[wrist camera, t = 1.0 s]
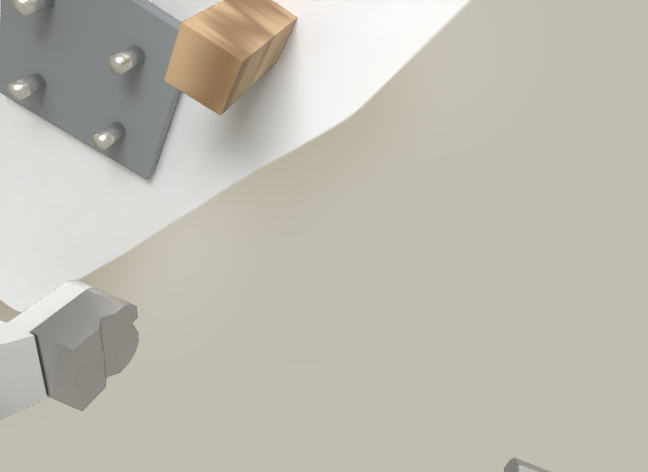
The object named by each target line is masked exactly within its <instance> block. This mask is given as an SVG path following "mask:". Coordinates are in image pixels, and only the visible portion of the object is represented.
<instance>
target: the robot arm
mask: <svg viewBox="0 0 648 472" xmlns="http://www.w3.org/2000/svg"><path fill="white" fill-rule="evenodd" d="M137 318H138V316H137V307H136V306H135V305H133V304H131V303H129V302H126V301H124V300H122V299H119V298H117V297H115V296H113V295H110V294H108V293H106V292H104V291H101V290H99V289H97V288H94V287H92V286H89V285H87V284H85V283H82V282H80V281H78V280H72V281H68V282H66V283H64V284H63V285H61V286H60V287H58V288H57V289H55V290H54V291H53V292H51V293H50V294H48V295H47V296H45V297H44V298H42V299H41V300H40V301H38V302H37V303H35V304H34V305H32V306H31V307H29V308H28V309H27V310H25V311H24V312H22V313H21V314H19V315H18V316H17V317H15V318H14V319H12V320H11V321H9V322H8V323H6V322H4V321H0V420H2V419H4V418H7V417H9V416H11V415H13V414H15V413H18V412H20V411H22V410H24V409H26V408H29V407H31V406H33V405H35V404H37V403H40V402H41V401H44V400H46V399H47V396H48V397H50V398H53V399H55V400H57V401H59V402H62V403H64V404H67V405H69V406H71V407H73V408H76V409H78V410H80V411H83V410H84V409H85V408H86V407H87V406H88V405H89V404H90V403H91V402H92V401H93V400H94V399H95V398H96V397H97V396H98V395H99V394H100V393H101V392H102V391H103V390H104V389H105V387H106V379H107V377H109V376H112V375H115V374H117V373H120V372H121V371H122V370H123V369H124V368H125V367H126V366H127V365H128V364H129V362H130V361H131V359H132V357H133V355H134V353H135V352H136V349H137V345H138V341H139V339H138V331H137V330H136V328H135V327H134V325H133V322H134V321H135V320H136V319H137ZM504 472H550V471H547V470H545V469H542V468H540V467H537V466H534V465H532V464H529V463H527V462H524V461H522V460H519V459H516V458H513V459H511V460H510V461H509V462H508V463H507V465H506V466H505V468H504Z"/></svg>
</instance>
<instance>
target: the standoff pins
mask: <svg viewBox="0 0 648 472" xmlns="http://www.w3.org/2000/svg"><path fill="white" fill-rule="evenodd" d="M9 3H10V6H11V8H12V9H13V11H14V12H15V13H16V14H18V15H20V16H24V15H27V14H30V13H33V12H37V11H40V10H43V9H46V8H49V7H52V6H54V4H55V0H9ZM144 60H145V53H144V51H143V50H142V48H140V47H139V46H137V45H133V46H131V47H129V48H127V49H125V50H123V51H121V52H119V53H117V54H115V55H113V56H111V57H109V58H108V59H107V66H108V68H109V70H110V71H111V72H112V73H113V74H116V75H121V74H122V73H124V72H126V71H128V70H129V69H131V68H133V67H135V66H136V65H138V64H140V63H142V62H143V61H144ZM45 87H46V81H45V79H44V78H43V76H41V75H40V74H38V73H33V74H31V75H29V76H27V77H25V78H22V79H20V80H18V81H16V82H14V83H11V84H9V85H7V86H6V92H7V94H8V95H9V96H10V97H11V98H12V99H13V100H16V101H19V100H21V99H23V98H25V97H27V96H29V95H31V94H33V93H35V92H37V91H39V90H41V89H43V88H45ZM125 134H126V129H125V127H124V126H123V125H122V124H121V123H120V122H114V123H112V124H111V125H109V126H108V127H106V128H105V129H103V130H102V131H101V132H99V133H98V134H96V135H95V136H93V137H92V139H91V142H92V144H93V146H94V147H95V148H96V149H98V150H100V151H103V150H105V149H106V148H108V147H109V146H110V145H112V144H113V143H114V142H116V141H117V140H118V139H120V138H121V137H122V136H124V135H125Z"/></svg>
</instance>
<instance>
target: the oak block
mask: <svg viewBox="0 0 648 472" xmlns="http://www.w3.org/2000/svg"><path fill="white" fill-rule="evenodd" d="M296 19H297V17H296V16H295V15H293V14H292V13H290V12H289V11H287V10H286V9H284V8H283V7H281V6H280V5H278V4H277V3H275V2H274V1H272V0H224V1H222V2H220V3H218V4H216V5H214V6H212V7H210V8H208V9H206V10H204V11H202V12H200V13H198V14H197V15H195V16H193V17H191V18H189V19H187V20H185V21H183V22H181V26H180V29H179V32H178V36H177V39H176V42H175V46H174V49H173V52H172V56H171V59H170V62H169V66H168V69H167V73H166V76H165V79H164V81H166V82H168V83H169V84H171V85H172V86H174V87H176V88H177V89H179V90H180V91H182V92H184V93H185V94H187V95H188V96H190V97H192V98H193V99H195V100H196V101H198V102H200V103H201V104H203V105H204V106H206V107H208V108H209V109H211V110H212V111H214V112H216V113H217V114H219V115H221V114H222V113H224V112H225V111H226V110H227V109H228V108H229V107H230V106H231V105H232V104H233V103H234V102H235V101H236V100H237V99H238V98H239V97H240V96H241V95H242V94H244V93H245V92H246V91H247V90H248V89H249V88H250V87H251V86H252V85H253V84H254V83H255V82H256V81H257V80H258V79H259V78H260V77H261V76H262V75H264V74H265V73H266V72H267V71H268V70H269V69H270V68H271V67H272V66H273V65H274V64H275V63H276V62H277V60H278V57H279V55H280V53H281V51H282V49H283V47H284V45H285V43H286V40H287V38H288V36H289V34H290V32H291V30H292V28H293V25H294V23H295V21H296Z"/></svg>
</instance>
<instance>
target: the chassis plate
mask: <svg viewBox="0 0 648 472" xmlns="http://www.w3.org/2000/svg"><path fill="white" fill-rule="evenodd" d="M180 26H181V22H180V21H178V20H177V19H175V18H173V17H172V16H170V15H169V14H167V13H166V12H164V11H163V10H161V9H159V8H158V7H156V6H155V5H153V4H152V3H150V2H149V1H147V0H55V4H54V6H52V7H49V8H46V9H43V10H40V11H37V12H33V13H30V14H27V15H24V16H20V15H18V14H16V13H15V12H14V11H13V9H12V8H11V6H10V3H9V0H1V20H0V93H2V94H3V95H5V96H7V97H8V98H10V99H12V98H11V97H10V96H9V95H8V94H7V92H6V86H7V85H9V84H11V83H14V82H16V81H18V80H20V79H22V78H25V77H27V76H29V75H31V74H33V73H38V74H40V75H41V76H43V78H44V79H45V81H46V87H45V88H43V89H41V90H39V91H37V92H35V93H33V94H31V95H29V96H27V97H25V98H23V99H21V100H19V101H16V100H14V101H15V102H17V103H19V104H20V105H22V106H24V107H25V108H27V109H29V110H30V111H32V112H34V113H36V114H37V115H39V116H41V117H42V118H44V119H46V120H47V121H49V122H51V123H52V124H54V125H56V126H57V127H59V128H61V129H63V130H64V131H66V132H68V133H69V134H71V135H73V136H74V137H76V138H78V139H79V140H81V141H83V142H85V143H86V144H88V145H90V146H91V147H93V148H95V147H94V146H93V144H92V142H91V139H92V137H93V136H95V135H96V134H98V133H99V132H101V131H102V130H103V129H105V128H106V127H108V126H109V125H111V124H112V123H114V122H120V123H121V124H122V125H123V126H124V127H125V129H126V134H125V135H124V136H122V137H121V138H120V139H118V140H117V141H116V142H114V143H113V144H112V145H110V146H109V147H108V148H106V149H105V150H103V151H100V150H98V149H96V148H95V149H96V150H98V151H100V152H101V153H103V154H105V155H106V156H108V157H110V158H112V159H113V160H115V161H117V162H118V163H120V164H122V165H123V166H125V167H127V168H128V169H130V170H132V171H134V172H135V173H137V174H139V175H140V176H142V177H144V178H145V179H148V178H149V177H150V176H151V175H152V174H153V173H154V171H155V168H156V165H157V162H158V159H159V156H160V153H161V150H162V147H163V144H164V141H165V138H166V135H167V132H168V129H169V126H170V123H171V120H172V117H173V114H174V111H175V108H176V105H177V102H178V99H179V96H180V93H181V91H180V90H179V89H177V88H176V87H174V86H172V85H171V84H169V83H168V82H166V81H164V79H165V76H166V73H167V69H168V66H169V62H170V59H171V56H172V52H173V49H174V46H175V42H176V39H177V36H178V32H179V29H180ZM133 45H137V46H139V47H140V48H142V50H143V51H144V53H145V60H144V61H143V62H142V63H140V64H138V65H136V66H135V67H133V68H131V69H129V70H128V71H126V72H124V73H122V74H121V75H116V74H113V73H112V72H111V71H110V70H109V68H108V66H107V59H108V58H109V57H111V56H113V55H115V54H117V53H119V52H121V51H123V50H125V49H127V48H129V47H131V46H133ZM12 100H13V99H12Z"/></svg>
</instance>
